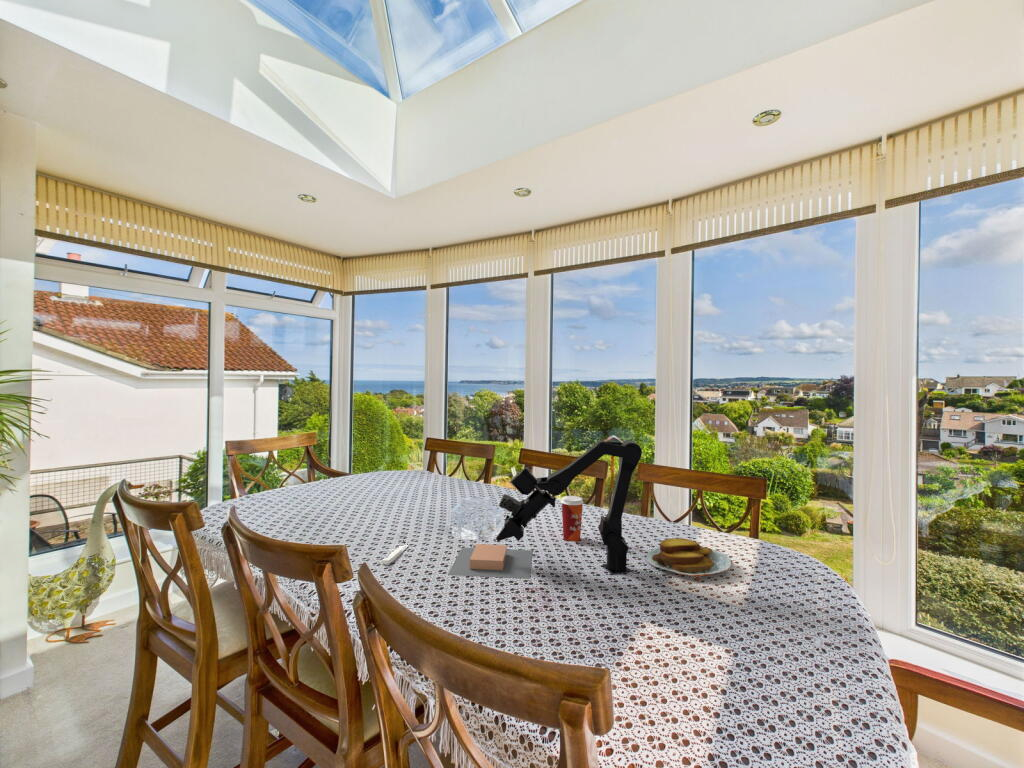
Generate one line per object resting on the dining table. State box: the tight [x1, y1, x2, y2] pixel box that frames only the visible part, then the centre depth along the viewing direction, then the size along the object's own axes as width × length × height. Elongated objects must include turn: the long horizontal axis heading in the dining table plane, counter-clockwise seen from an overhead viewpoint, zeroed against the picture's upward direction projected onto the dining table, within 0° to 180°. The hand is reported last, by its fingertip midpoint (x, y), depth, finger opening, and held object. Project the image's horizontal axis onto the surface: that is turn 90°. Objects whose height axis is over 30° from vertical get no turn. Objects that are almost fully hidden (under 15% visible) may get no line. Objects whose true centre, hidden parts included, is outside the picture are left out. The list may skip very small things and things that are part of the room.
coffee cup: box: [560, 495, 585, 543], centre depth 165 cm, size 8×8×15 cm
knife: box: [380, 544, 409, 566], centre depth 154 cm, size 31×6×2 cm, turn 3°
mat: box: [447, 547, 534, 580], centre depth 141 cm, size 24×22×1 cm
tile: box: [470, 543, 508, 571], centre depth 142 cm, size 3×13×10 cm
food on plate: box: [645, 537, 733, 582], centre depth 143 cm, size 25×25×7 cm
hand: (496, 539), depth 141 cm, fingers closed
